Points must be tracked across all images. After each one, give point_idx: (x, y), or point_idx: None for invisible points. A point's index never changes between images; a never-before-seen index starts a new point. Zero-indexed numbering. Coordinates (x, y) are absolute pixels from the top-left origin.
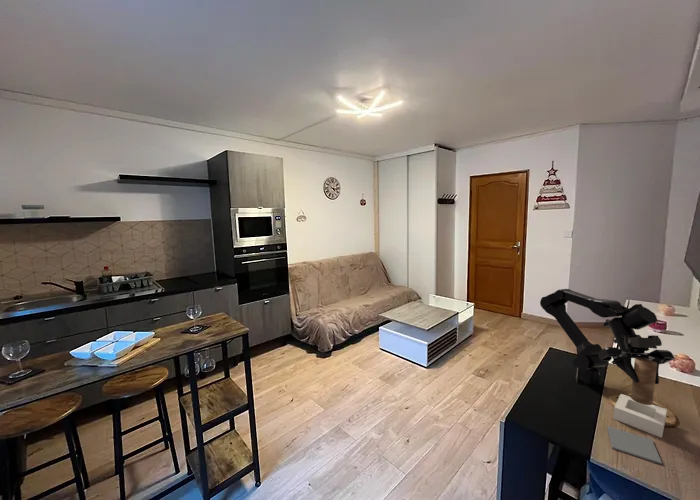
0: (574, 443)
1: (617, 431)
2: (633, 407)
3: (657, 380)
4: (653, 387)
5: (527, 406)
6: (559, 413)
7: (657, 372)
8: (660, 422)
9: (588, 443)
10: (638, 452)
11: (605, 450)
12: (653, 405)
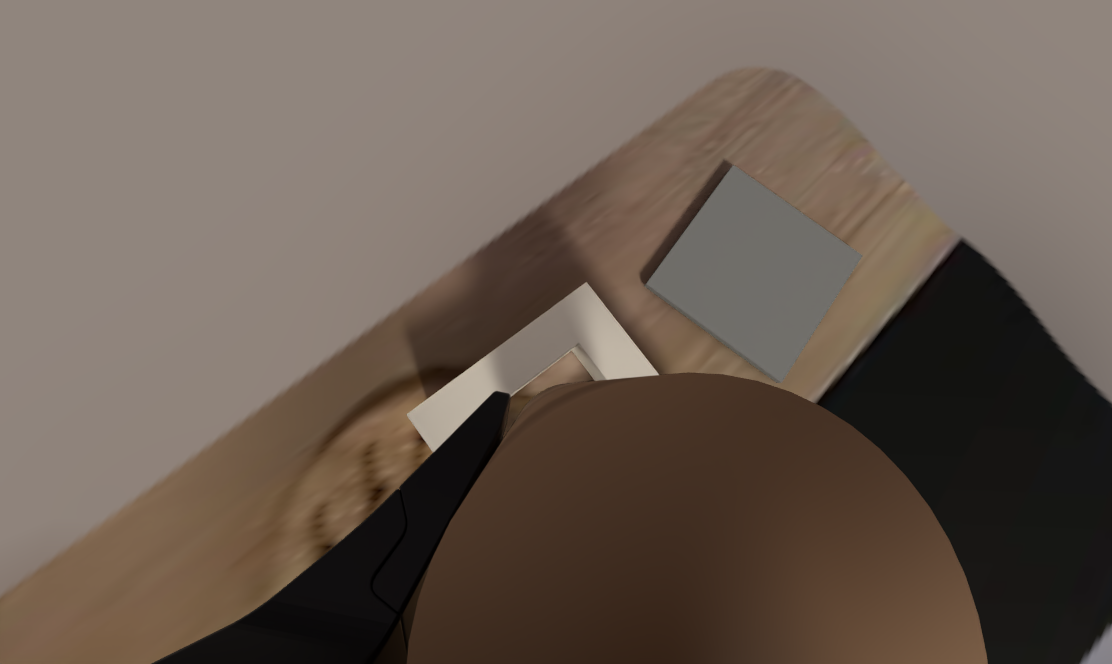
0: (986, 300)
1: (762, 341)
2: None
3: (494, 410)
4: (563, 385)
5: (1078, 576)
6: (937, 506)
7: (420, 484)
8: (578, 304)
9: (927, 296)
10: (778, 218)
11: (884, 255)
12: None
